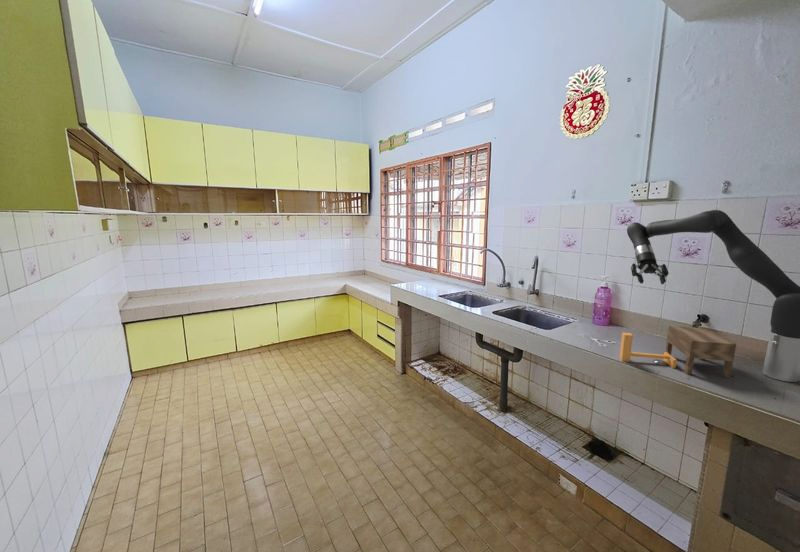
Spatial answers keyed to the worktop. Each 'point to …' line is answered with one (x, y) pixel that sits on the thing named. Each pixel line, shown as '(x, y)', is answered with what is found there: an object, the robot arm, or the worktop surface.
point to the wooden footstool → (701, 346)
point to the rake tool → (626, 353)
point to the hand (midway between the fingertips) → (652, 283)
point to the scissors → (601, 340)
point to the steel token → (660, 362)
